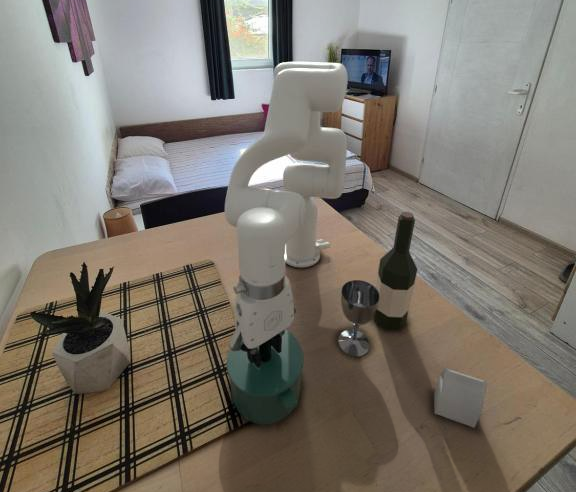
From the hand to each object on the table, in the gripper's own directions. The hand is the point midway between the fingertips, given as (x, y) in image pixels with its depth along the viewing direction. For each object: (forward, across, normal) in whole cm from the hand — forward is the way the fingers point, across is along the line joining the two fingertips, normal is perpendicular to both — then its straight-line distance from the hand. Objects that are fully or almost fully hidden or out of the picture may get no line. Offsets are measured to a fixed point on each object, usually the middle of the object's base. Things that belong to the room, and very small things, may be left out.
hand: (265, 353), depth 62 cm
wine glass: (+10, +22, -4) cm, 25 cm away
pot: (+10, 0, 0) cm, 10 cm away
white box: (+10, +26, -25) cm, 38 cm away
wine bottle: (+10, +35, -4) cm, 36 cm away
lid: (+1, 0, 0) cm, 1 cm away
